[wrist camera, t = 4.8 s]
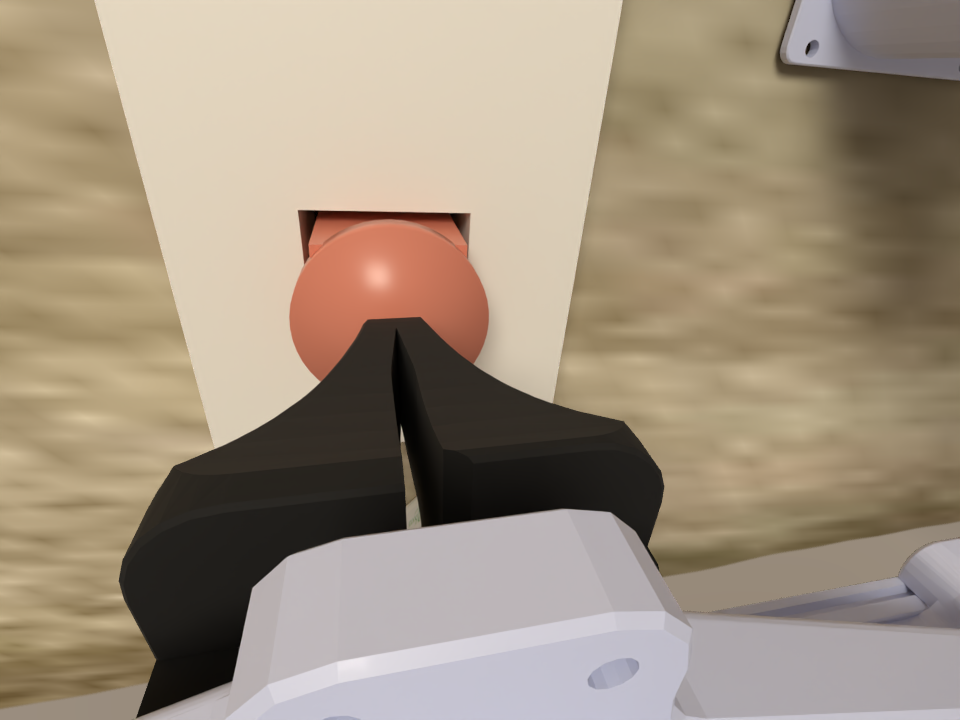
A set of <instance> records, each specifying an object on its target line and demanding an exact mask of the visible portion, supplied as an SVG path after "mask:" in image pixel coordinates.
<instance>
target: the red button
mask: <svg viewBox="0 0 960 720" xmlns="http://www.w3.org/2000/svg"><path fill="white" fill-rule="evenodd" d="M308 246H309V255H310V257H309V258H308V260H307V261H306V263H305V265H304V266H303V268H302V270H301V272H300V274H299V277H298V279H297V282H296V285H295V288H294V292H293V295H292V299H291V303H290V313H289V321H290V331H291V336H292V340H293V343H294V345H295V348H296V351H297V353H298V354H299V356H300V358H301V360H302V362H303V363H304V364H305V366H306V367H307V368H308V370H309V371H310V372H311V373H312V374H313V375H314V376H315V377H316V378H317V379H318V380H319V381H320V382H321V381H322V380H323V379H324V378H325V377H326V376H327V375H328V373H329V372H330V371H331V370H332V369H333V368H334V367H335V365H336V364H337V363H338V362H339V361H340V359H341V358H342V357H343V356H344V354H345V353H346V351H347V350H348V349H349V347H350V346H351V344H352V343H353V341H354V340H355V338H356V337H357V335H358V333H359V332H360V330H361V328H362V326H363V324H364V323H365V322H366V321H367V320H368V319H386V318H407V317H421V318H422V319H423V320H424V321H425V322H426V323H427V324H428V325H429V326H430V327H431V328H432V329H433V330H434V331H435V332H436V333H437V334H438V335H439V336H440V337H441V338H442V339H443V340H444V341H445V342H446V343H447V344H448V345H450V346H451V347H452V348H453V349H454V350H455V351H456V352H458V353H459V354H460V355H461V356H463V357H464V358H465V359H467V360H468V361H470V362H471V363H472V364H474V362H475V361H476V359H477V357H478V356H479V354H480V352H481V350H482V347H483V345H484V342H485V339H486V336H487V331H488V324H489V309H488V301H487V297H486V294H485V290H484V288H483V285H482V283H481V281H480V279H479V277H478V275H477V273H476V271H475V269H474V268H473V266H472V264H471V263H470V261H469V260H468V258H467V244H466V242H465V240H464V239H463V237H462V235H461V233H460V232H459V230H458V228H457V226H456V225H455V223H454V221H453V220H452V218H451V216H450V214H449V213H435V212H382V211H329V210H319V212H318V216H317V219H316V222H315V225H314V228H313V231H312V235H311V238H310V241H309V244H308Z"/></svg>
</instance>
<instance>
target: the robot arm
mask: <svg viewBox="0 0 960 720" xmlns="http://www.w3.org/2000/svg"><path fill="white" fill-rule="evenodd" d="M809 42H810V45H811V46H810V51H809V52H808V54H807V55H806V54H805V50H806V47H807V45H808V43H809ZM780 57H781V60H782V61H783V63H786V64H790V65H801V66H811V67H821V68H832V69H842V70H852V71H863V72H873V73H883V74H894V75H904V76H914V77H925V78H935V79H946V80H956V81H960V0H796V1H795V4H794V7H793V10H792V14H791V17H790V20H789V23H788V26H787V29H786V32H785V36H784V39H783V42H782V45H781V49H780ZM401 427H402V431H403V436H404V441H405V445H406V450H407V454H408V459H409V463H410V468H411V472H412V477H413V481H414V486H415V490H416V495H417V500H418V506H419V511H420V519H421V527H420V528H413V529H407V521H406V500H405V484H404V474H403V463H402V455H401V449H400V445H401ZM663 491H664V483H663V478H662V473H661V470H660V469H659V468H658V466H657V465H656V463H655V462H654V461H653V459H652V458H651V456H650V455H649V453H648V452H647V451H646V449H645V448H644V446H643V445H642V443H641V442H640V441H639V439H638V438H637V437H636V436H635V434H634V433H633V432H632V431H631V430H630V428H629V427H628V426H627V425H626V424H625V423H624V421H619V420H615V419H610V418H606V417H601V416H597V415H592V414H588V413H583V412H579V411H575V410H572V409H569V408H565V407H562V406H559V405H556V404H553V403H550V402H547V401H544V400H541V399H539V398H536V397H534V396H531V395H529V394H527V393H524V392H522V391H520V390H518V389H515V388H513V387H511V386H509V385H507V384H505V383H503V382H501V381H500V380H498V379H496V378H494V377H493V376H491V375H489V374H487V373H486V372H484V371H482V370H481V369H479V368H478V367H476V366H475V365H474V364H472V363H471V362H470V361H468V360H467V359H465V358H464V357H463V356H461V355H460V354H459V353H458V352H456V351H455V350H454V349H453V348H452V347H451V346H450V345H448V344H447V343H446V342H445V341H444V340H443V339H442V338H441V337H440V336H439V335H438V334H437V333H436V332H435V331H434V330H433V329H432V328H431V327H430V326H429V325H428V324H427V323H426V322H425V321H424V320H423V319H422V318H421V317H407V318H386V319H368V320H367V321H366V322H365V323H364V324H363V326H362V328H361V330H360V332H359V333H358V335H357V337H356V338H355V340H354V341H353V343H352V344H351V346H350V347H349V349H348V350H347V351H346V353H345V354H344V356H343V357H342V358H341V359H340V361H339V362H338V363H337V364H336V365H335V367H334V368H333V369H332V370H331V371H330V372H329V373H328V375H327V376H326V377H325V378H324V379H323V380H322V381H321V382H320V383H319V384H318V385H317V386H316V387H315V388H314V389H313V390H311V391H310V392H309V393H308V394H307V395H306V396H304V397H303V398H302V399H301V400H299V401H298V402H296V403H295V404H293V405H292V406H291V407H289V408H288V409H286V410H285V411H283V412H282V413H281V414H279V415H278V416H276V417H275V418H273V419H272V420H270V421H268V422H267V423H265V424H263V425H261V426H260V427H258V428H256V429H255V430H253V431H251V432H249V433H247V434H245V435H243V436H241V437H239V438H238V439H236V440H233V441H231V442H229V443H227V444H225V445H223V446H221V447H218V448H216V449H214V450H211V451H209V452H207V453H204V454H202V455H200V456H197V457H195V458H193V459H190V460H188V461H186V462H183V463H180V464H178V465H175V466H174V467H173V468H172V470H171V471H170V473H169V475H168V476H167V478H166V479H165V481H164V482H163V484H162V485H161V487H160V488H159V490H158V491H157V493H156V495H155V497H154V498H153V500H152V502H151V504H150V506H149V508H148V509H147V511H146V513H145V515H144V517H143V519H142V522H141V524H140V526H139V528H138V530H137V532H136V534H135V536H134V538H133V540H132V542H131V544H130V546H129V548H128V550H127V552H126V554H125V556H124V558H123V561H122V566H121V571H120V577H119V583H120V587H121V590H122V594H123V597H124V600H125V602H126V604H127V606H128V608H129V610H130V611H131V613H132V615H133V617H134V619H135V621H136V623H137V625H138V626H139V628H140V630H141V632H142V634H143V636H144V638H145V639H146V641H147V643H148V645H149V647H150V649H151V651H152V652H153V654H154V656H155V658H156V659H157V660H156V663H155V665H154V668H153V671H152V674H151V677H150V680H149V683H148V686H147V688H146V691H145V694H144V697H143V700H142V703H141V706H140V708H139V711H138V714H137V717H136V719H133V720H960V537H958V538H953V539H947V540H941V541H935V542H931V543H928V544H926V545H923V546H922V547H920V548H919V549H917V550H915V551H914V552H913V553H912V554H911V555H910V556H909V557H908V558H907V560H906V561H905V562H904V564H903V566H902V567H901V569H900V571H899V575H898V577H892V578H887V579H882V580H876V581H871V582H866V583H861V584H855V585H850V586H845V587H839V588H834V589H829V590H823V591H818V592H813V593H808V594H802V595H797V596H792V597H786V598H781V599H776V600H770V601H765V602H760V603H754V604H750V605H744V606H739V607H733V608H728V609H723V610H718V611H712V612H694V611H682V610H681V608H680V607H679V605H678V603H677V601H676V600H675V598H674V596H673V595H672V593H671V591H670V590H669V588H668V586H667V584H666V583H665V581H664V579H663V578H662V576H661V574H660V572H659V567H658V564H657V562H656V560H655V559H654V557H653V555H652V554H651V552H650V550H649V549H648V547H647V546H648V543H649V540H650V537H651V534H652V531H653V528H654V525H655V522H656V519H657V515H658V512H659V509H660V506H661V503H662V497H663Z"/></svg>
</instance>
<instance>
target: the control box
mask: <svg viewBox="0 0 960 720" xmlns="http://www.w3.org/2000/svg"><path fill="white" fill-rule="evenodd" d="M94 1H95V4H96V8H97V12H98V16H99V19H100V23H101V27H102V31H103V34H104V38H105V42H106V45H107V49H108V53H109V57H110V60H111V64H112V68H113V72H114V75H115V79H116V83H117V86H118V90H119V94H120V98H121V101H122V105H123V109H124V113H125V116H126V120H127V124H128V127H129V131H130V135H131V139H132V142H133V146H134V150H135V153H136V157H137V161H138V165H139V168H140V172H141V176H142V180H143V183H144V187H145V191H146V194H147V198H148V202H149V206H150V209H151V213H152V217H153V221H154V224H155V228H156V232H157V235H158V239H159V243H160V247H161V250H162V254H163V258H164V262H165V265H166V269H167V273H168V276H169V280H170V284H171V288H172V291H173V295H174V299H175V303H176V306H177V310H178V314H179V317H180V321H181V325H182V329H183V332H184V336H185V340H186V344H187V347H188V351H189V355H190V358H191V362H192V366H193V370H194V373H195V377H196V381H197V385H198V388H199V392H200V396H201V399H202V403H203V407H204V411H205V414H206V418H207V422H208V425H209V429H210V433H211V437H212V440H213V444H214V448H215V449H216V448H218V447H221V446H223V445H225V444H227V443H229V442H231V441H233V440H236V439H238V438H239V437H241V436H243V435H245V434H247V433H249V432H251V431H253V430H255V429H256V428H258V427H260V426H261V425H263V424H265V423H267V422H268V421H270V420H272V419H273V418H275V417H276V416H278V415H279V414H281V413H282V412H283V411H285V410H286V409H288V408H289V407H291V406H292V405H293V404H295V403H296V402H298V401H299V400H301V399H302V398H303V397H304V396H306V395H307V394H308V393H309V392H310V391H311V390H313V389H314V388H315V387H316V386H317V385H318V384H319V383H320V381H319V380H318V379H317V378H316V377H315V376H314V375H313V374H312V373H311V372H310V371H309V370H308V368H307V367H306V366H305V364H304V363H303V362H302V360H301V358H300V356H299V354H298V353H297V351H296V348H295V345H294V343H293V340H292V336H291V331H290V321H289V313H290V303H291V299H292V295H293V292H294V288H295V285H296V282H297V279H298V277H299V274H300V272H301V270H302V268H303V266H304V265H305V263H306V261H307V260H308V258H309V257H310V255H309V246H308V244H309V241H310V238H311V235H312V231H313V228H314V225H315V214H314V210H329V211H382V212H435V213H449V214H450V216H451V218H452V220H453V221H454V223H455V225H456V226H457V228H458V230H459V232H460V233H461V235H462V237H463V239H464V240H465V242H466V244H467V258H468V260H469V261H470V263H471V264H472V266H473V268H474V269H475V271H476V273H477V275H478V277H479V279H480V281H481V283H482V285H483V288H484V290H485V294H486V297H487V301H488V309H489V324H488V331H487V336H486V339H485V342H484V345H483V347H482V350H481V352H480V354H479V356H478V357H477V359H476V361H475V362H474V365H475V366H476V367H478V368H479V369H481V370H482V371H484V372H486V373H487V374H489V375H491V376H493V377H494V378H496V379H498V380H500V381H501V382H503V383H505V384H507V385H509V386H511V387H513V388H515V389H518V390H520V391H522V392H524V393H527V394H529V395H531V396H534V397H536V398H539V399H541V400H544V401H547V402H550V403H553V398H554V393H555V387H556V381H557V375H558V370H559V364H560V358H561V352H562V347H563V341H564V335H565V329H566V324H567V318H568V312H569V306H570V301H571V295H572V289H573V283H574V278H575V272H576V266H577V261H578V255H579V249H580V243H581V238H582V232H583V226H584V220H585V215H586V209H587V203H588V197H589V192H590V186H591V180H592V174H593V169H594V163H595V157H596V151H597V146H598V140H599V134H600V129H601V123H602V117H603V111H604V106H605V100H606V94H607V88H608V83H609V77H610V71H611V65H612V60H613V54H614V48H615V42H616V37H617V31H618V25H619V20H620V14H621V8H622V2H623V0H94ZM401 442H405V441H404V436H403V431H402V427H401Z"/></svg>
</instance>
